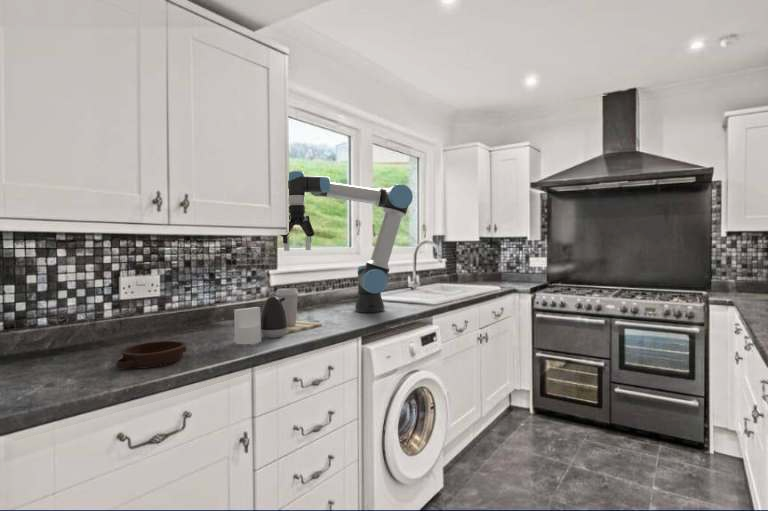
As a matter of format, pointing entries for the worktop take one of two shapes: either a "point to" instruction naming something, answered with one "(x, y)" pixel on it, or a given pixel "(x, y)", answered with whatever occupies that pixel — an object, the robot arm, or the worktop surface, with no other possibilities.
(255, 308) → the grey square canister
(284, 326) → the dark egg shaped speaker
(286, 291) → the coffee cup
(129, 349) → the dish
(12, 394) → the worktop surface
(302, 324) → the birch board
